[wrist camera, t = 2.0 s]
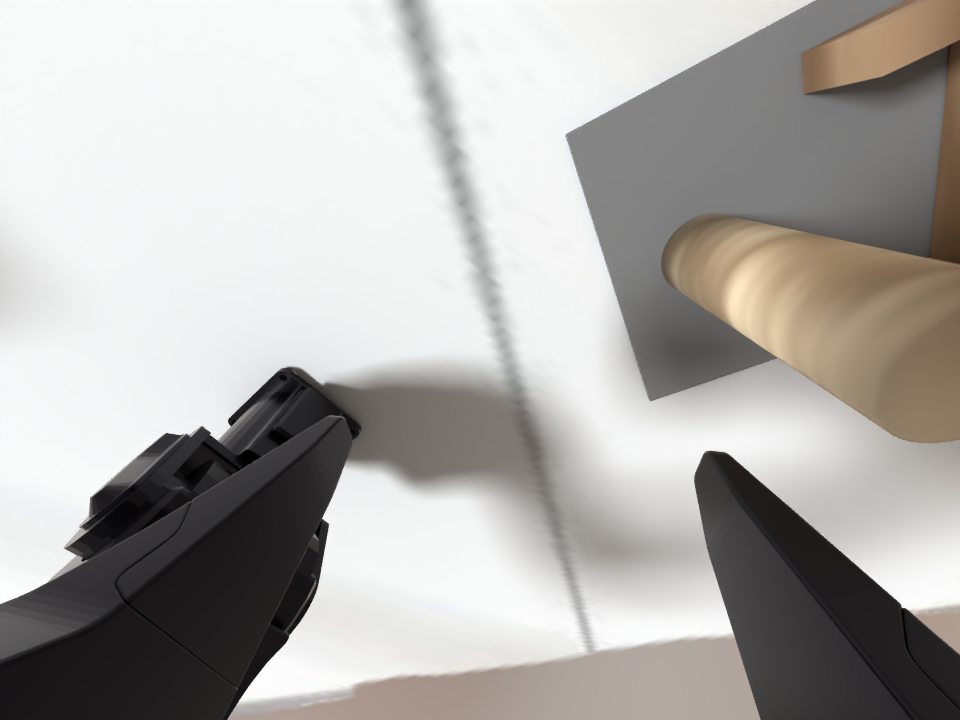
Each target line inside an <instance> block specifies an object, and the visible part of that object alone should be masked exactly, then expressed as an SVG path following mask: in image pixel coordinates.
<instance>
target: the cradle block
mask: <svg viewBox="0 0 960 720" xmlns="http://www.w3.org/2000/svg"><path fill="white" fill-rule="evenodd" d="M948 45H950V54H949V65H948V75H947V85H946V96H945V106H944V116H943V127H942V137H941V147H940V158H939V168H938V178H937V189H936V199H935V209H934V220H933V230H932V241H931V251H930V257H929V259H933V260H938V261H943V262H947V263H952V264H957V265H960V0H905V1H903V2H901V3H899V4H897V5H895V6H893V7H891V8H889V9H887V10H885V11H883V12H881V13H879V14H877V15H875V16H873V17H871V18H869V19H867V20H865V21H863V22H862V23H860V24H858V25H856V26H854V27H852V28H850V29H848V30H846V31H844V32H842V33H840V34H838V35H836V36H834V37H832V38H830V39H828V40H826V41H824V42H822V43H820V44H818V45H816V46H814V47H813V48H811V49H809V50H807V51H805V52H803V53H802V71H803V90H804V94H806V93H811V92H815V91H820V90H824V89H829V88H833V87H838V86H842V85H847V84H851V83H856V82H860V81H865V80H869V79H873V78H878V77H882V76H885V75H887V74H889V73H891V72H893V71H895V70H897V69H899V68H902V67H904V66H906V65H908V64H910V63H912V62H914V61H916V60H918V59H921V58H923V57H925V56H927V55H929V54H931V53H933V52H935V51H937V50H939V49H942V48H944V47H946V46H948Z"/></svg>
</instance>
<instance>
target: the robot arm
mask: <svg viewBox="0 0 960 720" xmlns="http://www.w3.org/2000/svg"><path fill="white" fill-rule="evenodd" d="M283 375H285V376H286V377H287V378H285V377H284V376H283ZM228 423H229V425H230V426H231V428H230V429H229V430H228V431H227V432H226V433H225V434H224V435H223V436H222V437H221V438H220V439H219V440H218V441H217V440H216V439H215V438H213V437H212V436H211V435H210V434H211V433H210V432H209V431H208V430H206V429H205V428H204V427H203V426H201V427H200V428H198V429H197V430H195V431H194V432H193V433H191V434H190V435H188V434H185V435H175V434H168V433H166V434H164V435H163V436H162V437H160V438H159V439H158V440H157V441H155V442H154V443H153V444H152V445H151V446H149V447H148V448H147V449H146V450H144V451H143V452H142V453H141V454H140V455H138V456H137V457H136V458H135V459H134V460H132V461H131V462H130V463H129V464H128V465H127V466H125V467H124V468H123V469H122V470H121V471H120V472H119V473H117V474H116V475H115V476H114V477H113V478H112V479H111V480H110V481H109V482H107V483H106V484H105V485H104V486H103V487H102V488H101V489H100V490H99V491H97V492H96V493H95V494H94V495H93V496H92V497H91V498H90V507H89V516H88V517H87V518H86V519H85V521H84V522H83V523H82V524H81V525H80V526H79V527H80V528H81V529H80V530H79V531H78V532H77V533H76V534H75V536H74V537H73V538H72V539H71V540H70V541H69V542H68V543H67V544H66V546H65V547H64V549H66V550H68V551H70V552H72V553H74V554H75V555H77V556H76V557H75V558H74V559H73V560H72V561H70V562H69V563H68V564H67V565H66V566H65V567H64V568H63V569H61V570H60V571H59V572H58V573H57V574H56V575H55V576H54V577H52V578H51V580H50V581H49V582H48V583H46V584H44V585H42V586H40V587H39V588H37V589H35V590H33V591H31V592H29V593H26V594H24V595H22V596H20V597H17V598H15V599H12V600H10V601H7V602H4V603H2V604H0V720H227V719H228V717H229V716H230V714H231V712H232V711H233V709H234V708H235V706H236V705H237V703H238V702H239V700H240V699H241V697H242V696H243V694H244V693H245V691H246V690H247V688H248V687H249V685H250V684H251V683H252V681H253V680H254V679H255V677H256V676H257V675H258V674H259V672H260V671H261V670H262V669H263V667H264V666H265V665H266V663H267V662H268V661H269V660H270V659H271V658H272V657H273V656H274V655H275V654H276V653H277V652H278V651H279V650H280V649H281V648H282V647H283V646H284V644H285V643H286V642H287V640H288V638H289V635H290V634H291V633H292V631H293V630H294V629H295V628H296V626H297V625H298V624H299V623H300V621H301V620H302V618H303V616H304V615H305V613H306V612H307V610H308V608H309V606H310V604H311V603H312V601H313V598H314V596H315V593H316V591H317V587H318V583H319V578H320V573H321V567H322V561H323V556H324V550H325V544H326V539H327V533H328V528H329V524H328V523H327V522H326V521H324V520H323V519H322V517H323V515H324V513H325V511H326V509H327V507H328V505H329V503H330V501H331V499H332V496H333V494H334V492H335V489H336V486H337V484H338V481H339V478H340V476H341V473H342V470H343V468H344V465H345V462H346V460H347V457H348V454H349V452H350V449H351V446H352V440H353V439H355V438H356V437H357V436H358V435H359V433H360V431H361V427H360V425H359V424H358V423H356V422H355V421H354V420H353V419H351V418H350V417H349V416H348V415H346V414H345V413H344V412H343V411H341V410H340V409H339V408H338V407H336V406H335V405H334V404H333V403H331V402H330V401H329V400H328V399H326V398H325V397H324V396H322V395H321V394H320V393H319V392H317V391H316V390H315V389H314V388H312V387H311V386H310V385H309V384H307V383H306V382H305V381H304V380H302V379H301V378H300V377H299V376H297V375H296V374H295V373H294V372H292V371H291V370H289V369H287V368H282V369H280V370H279V371H278V372H277V373H276V374H275V375H274V376H273V377H271V378H270V379H269V380H268V381H267V382H266V383H265V384H264V385H263V386H262V387H261V388H260V389H259V390H258V391H257V392H256V393H255V394H254V395H253V396H252V397H251V398H250V399H249V400H248V401H247V402H246V403H244V404H243V405H242V406H241V407H240V408H239V409H238V410H237V411H236V412H235V413H234V414H233V415H232V416H231V417H230V418H229V419H228ZM351 429H354V430H355V431H353V430H351ZM694 483H695V488H696V494H697V499H698V504H699V509H700V514H701V519H702V525H703V530H704V535H705V540H706V544H707V549H708V552H709V556H710V559H711V563H712V566H713V569H714V572H715V575H716V578H717V582H718V585H719V588H720V591H721V594H722V598H723V601H724V604H725V607H726V610H727V614H728V617H729V620H730V623H731V626H732V630H733V633H734V636H735V639H736V642H737V645H738V649H739V652H740V655H741V658H742V661H743V665H744V668H745V671H746V674H747V677H748V680H749V684H750V687H751V690H752V693H753V697H754V700H755V703H756V706H757V709H758V712H759V715H760V719H761V720H960V654H959V653H957V652H956V651H955V650H954V649H953V648H952V647H950V646H949V645H948V644H947V643H946V642H944V641H943V640H942V639H941V638H940V637H939V636H937V635H936V634H935V633H934V632H933V631H931V630H930V629H929V628H928V627H927V626H926V625H924V624H923V623H922V622H921V621H920V620H919V619H918V618H917V617H915V616H914V615H913V614H912V613H911V612H910V611H908V610H907V609H905V608H902V607H901V604H900V603H899V602H898V601H897V600H896V599H894V598H893V597H892V596H891V595H890V594H889V593H888V592H886V591H885V590H884V589H883V588H882V587H881V586H880V585H878V584H877V583H876V582H875V581H874V580H873V579H872V578H870V577H869V576H868V575H867V574H866V573H865V572H863V571H862V570H861V569H860V568H859V567H858V566H857V565H855V564H854V563H853V562H852V561H851V560H850V559H849V558H847V557H846V556H845V555H844V554H843V553H842V552H840V551H839V550H838V549H837V548H836V547H835V546H834V545H832V544H831V543H830V542H829V541H828V540H827V539H826V538H824V537H823V536H822V535H821V534H820V533H819V532H818V531H816V530H815V529H814V528H813V527H812V526H811V525H809V524H808V523H807V522H806V521H805V520H804V519H803V518H801V517H800V516H799V515H798V514H797V513H796V512H795V511H793V510H792V509H791V508H790V507H789V506H788V505H787V504H785V503H784V502H783V501H782V500H781V499H780V498H778V497H777V496H776V495H775V494H774V493H773V492H772V491H770V490H769V489H768V488H767V487H766V486H765V485H764V484H762V483H761V482H760V481H759V480H758V479H757V478H755V477H754V476H753V475H752V474H751V473H750V472H749V471H747V470H746V469H745V468H744V467H743V466H742V465H741V464H739V463H738V462H737V461H736V460H735V459H734V458H733V457H731V456H730V455H729V454H727V453H725V452H717V451H706V452H705V453H704V454H703V456H702V459H701V461H700V463H699V466H698V468H697V470H696V472H695V477H694Z"/></svg>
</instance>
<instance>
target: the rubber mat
mask: <svg viewBox="0 0 960 720" xmlns="http://www.w3.org/2000/svg"><path fill="white" fill-rule="evenodd" d="M903 1H905V0H816V1H814V2H812V3H810V4H808V5H807V6H805V7H803V8H801V9H799V10H797V11H795V12H793V13H792V14H790V15H788V16H786V17H784V18H782V19H780V20H779V21H777V22H775V23H773V24H771V25H769V26H767V27H765V28H764V29H762V30H760V31H758V32H756V33H754V34H752V35H751V36H749V37H747V38H745V39H743V40H741V41H739V42H737V43H736V44H734V45H732V46H730V47H728V48H726V49H724V50H723V51H721V52H719V53H717V54H715V55H713V56H711V57H709V58H708V59H706V60H704V61H702V62H700V63H698V64H696V65H695V66H693V67H691V68H689V69H687V70H685V71H683V72H681V73H680V74H678V75H676V76H674V77H672V78H670V79H668V80H667V81H665V82H663V83H661V84H659V85H657V86H655V87H653V88H652V89H650V90H648V91H646V92H644V93H642V94H640V95H639V96H637V97H635V98H633V99H631V100H629V101H627V102H625V103H624V104H622V105H620V106H618V107H616V108H614V109H612V110H611V111H609V112H607V113H605V114H603V115H601V116H599V117H598V118H596V119H594V120H592V121H590V122H588V123H586V124H584V125H583V126H581V127H579V128H577V129H575V130H573V131H571V132H570V133H568V134H566V138H567V141H568V144H569V147H570V151H571V154H572V157H573V160H574V163H575V166H576V170H577V173H578V176H579V179H580V182H581V185H582V189H583V192H584V195H585V198H586V201H587V204H588V208H589V211H590V214H591V217H592V220H593V223H594V227H595V230H596V233H597V236H598V239H599V242H600V246H601V249H602V252H603V255H604V258H605V262H606V265H607V268H608V271H609V274H610V277H611V281H612V284H613V287H614V290H615V293H616V296H617V300H618V303H619V306H620V309H621V312H622V315H623V319H624V322H625V325H626V328H627V331H628V334H629V338H630V341H631V344H632V347H633V350H634V353H635V357H636V360H637V363H638V366H639V369H640V372H641V376H642V379H643V382H644V385H645V388H646V391H647V395H648V398H649V400H650V401H653V400H656V399H659V398H662V397H665V396H668V395H670V394H673V393H676V392H679V391H682V390H685V389H688V388H691V387H694V386H697V385H700V384H703V383H706V382H708V381H711V380H714V379H717V378H720V377H723V376H726V375H729V374H732V373H735V372H738V371H741V370H744V369H747V368H749V367H752V366H755V365H758V364H761V363H764V362H767V361H770V360H773V359H776V358H777V357H776V356H774V355H773V354H771V353H770V352H768V351H767V350H765V349H764V348H762V347H761V346H759V345H758V344H756V343H755V342H753V341H752V340H751V339H749V338H748V337H746V336H745V335H743V334H742V333H740V332H739V331H737V330H736V329H734V328H733V327H731V326H730V325H728V324H727V323H725V322H724V321H722V320H721V319H719V318H718V317H716V316H715V315H713V314H712V313H710V312H709V311H707V310H706V309H704V308H703V307H701V306H700V305H698V304H697V303H695V302H694V301H692V300H691V299H690V298H688V297H687V296H685V295H684V294H682V293H681V292H679V291H678V290H676V289H675V288H673V287H672V286H671V285H669V284H668V282H667V281H666V280H665V278H664V276H663V273H662V268H661V260H662V254H663V251H664V248H665V246H666V244H667V242H668V240H669V239H670V237H671V236H672V235H673V233H674V232H675V231H676V230H677V229H678V228H679V227H680V226H682V225H683V224H684V223H686V222H687V221H689V220H691V219H693V218H695V217H697V216H700V215H704V214H710V213H717V214H723V215H727V216H732V217H737V218H742V219H746V220H751V221H756V222H760V223H765V224H770V225H774V226H779V227H784V228H788V229H793V230H798V231H802V232H807V233H812V234H816V235H821V236H826V237H830V238H835V239H840V240H844V241H849V242H854V243H858V244H863V245H868V246H873V247H877V248H882V249H887V250H891V251H896V252H901V253H905V254H910V255H915V256H919V257H924V258H929V257H930V251H931V241H932V230H933V220H934V209H935V199H936V189H937V178H938V168H939V158H940V147H941V137H942V127H943V116H944V106H945V96H946V85H947V75H948V65H949V54H950V45H948V46H946V47H944V48H942V49H939V50H937V51H935V52H933V53H931V54H929V55H927V56H925V57H923V58H921V59H918V60H916V61H914V62H912V63H910V64H908V65H906V66H904V67H902V68H899V69H897V70H895V71H893V72H891V73H889V74H887V75H885V76H882V77H878V78H873V79H869V80H865V81H860V82H856V83H851V84H847V85H842V86H838V87H833V88H829V89H824V90H820V91H815V92H811V93H806V94H804V90H803V71H802V53H803V52H805V51H807V50H809V49H811V48H813V47H814V46H816V45H818V44H820V43H822V42H824V41H826V40H828V39H830V38H832V37H834V36H836V35H838V34H840V33H842V32H844V31H846V30H848V29H850V28H852V27H854V26H856V25H858V24H860V23H862V22H863V21H865V20H867V19H869V18H871V17H873V16H875V15H877V14H879V13H881V12H883V11H885V10H887V9H889V8H891V7H893V6H895V5H897V4H899V3H901V2H903Z"/></svg>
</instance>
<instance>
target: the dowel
mask: <svg viewBox="0 0 960 720" xmlns="http://www.w3.org/2000/svg"><path fill="white" fill-rule="evenodd" d="M661 268H662V273H663V276H664V278H665V280H666V281H667V282H668V284H669V285H671V286H672V287H673V288H675V289H676V290H678V291H679V292H681V293H682V294H684V295H685V296H687V297H688V298H690V299H691V300H692V301H694V302H695V303H697V304H698V305H700V306H701V307H703V308H704V309H706V310H707V311H709V312H710V313H712V314H713V315H715V316H716V317H718V318H719V319H721V320H722V321H724V322H725V323H727V324H728V325H730V326H731V327H733V328H734V329H736V330H737V331H739V332H740V333H742V334H743V335H745V336H746V337H748V338H749V339H751V340H752V341H753V342H755V343H756V344H758V345H759V346H761V347H762V348H764V349H765V350H767V351H768V352H770V353H771V354H773V355H774V356H776V357H777V358H779V359H780V360H782V361H783V362H785V363H786V364H788V365H789V366H791V367H792V368H794V369H795V370H797V371H798V372H800V373H801V374H803V375H804V376H806V377H807V378H809V379H810V380H812V381H813V382H814V383H816V384H817V385H819V386H820V387H822V388H823V389H825V390H826V391H828V392H829V393H831V394H832V395H834V396H835V397H837V398H838V399H840V400H841V401H843V402H844V403H846V404H847V405H849V406H850V407H852V408H853V409H855V410H856V411H858V412H859V413H861V414H862V415H864V416H865V417H867V418H868V419H870V420H871V421H873V422H874V423H875V424H877V425H878V426H880V427H881V428H883V429H884V430H886V431H887V432H889V433H890V434H892V435H893V436H896V437H898V438H900V439H903V440H907V441H911V442H919V443H936V442H946V441H953V440H958V439H960V265H957V264H952V263H947V262H943V261H938V260H933V259H929V258H924V257H919V256H915V255H910V254H905V253H901V252H896V251H891V250H887V249H882V248H877V247H873V246H868V245H863V244H858V243H854V242H849V241H844V240H840V239H835V238H830V237H826V236H821V235H816V234H812V233H807V232H802V231H798V230H793V229H788V228H784V227H779V226H774V225H770V224H765V223H760V222H756V221H751V220H746V219H742V218H737V217H732V216H727V215H723V214H717V213H710V214H704V215H700V216H697V217H695V218H693V219H691V220H689V221H687V222H686V223H684V224H683V225H682V226H680V227H679V228H678V229H677V230H676V231H675V232H674V233H673V235H672V236H671V237H670V239H669V240H668V242H667V244H666V246H665V248H664V251H663V254H662V260H661Z"/></svg>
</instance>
